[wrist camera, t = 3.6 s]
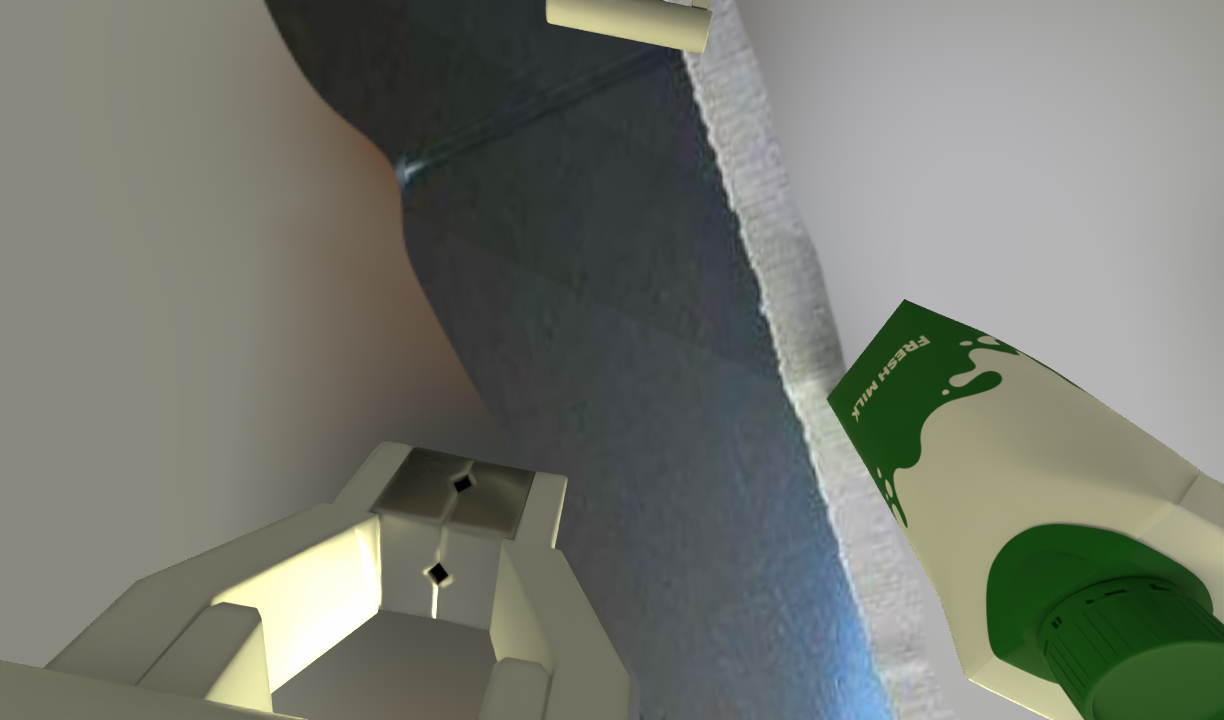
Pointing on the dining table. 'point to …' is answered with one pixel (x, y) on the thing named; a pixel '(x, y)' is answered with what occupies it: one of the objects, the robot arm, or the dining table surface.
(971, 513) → the milk carton
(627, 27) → the drawer
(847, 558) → the dining table surface
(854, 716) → the dining table surface
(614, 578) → the dining table surface
